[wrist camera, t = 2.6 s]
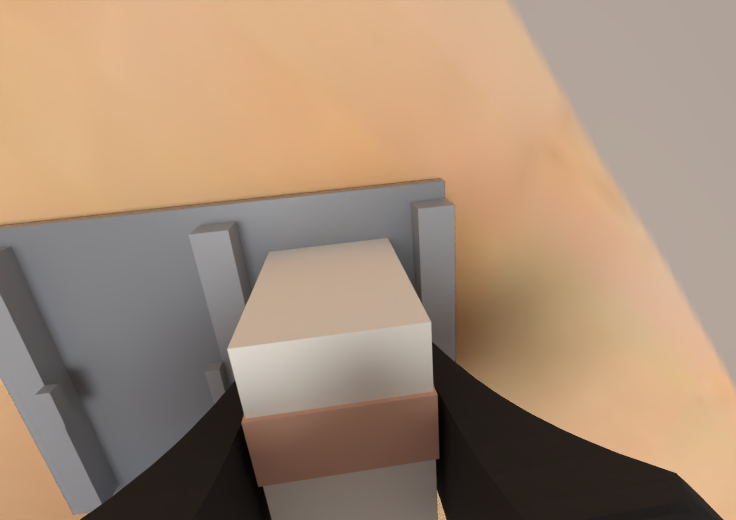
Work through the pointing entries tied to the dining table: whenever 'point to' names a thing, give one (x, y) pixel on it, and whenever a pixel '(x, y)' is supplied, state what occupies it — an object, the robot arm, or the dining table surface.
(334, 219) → the grey ribbed plate
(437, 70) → the dining table surface
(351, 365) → the block
